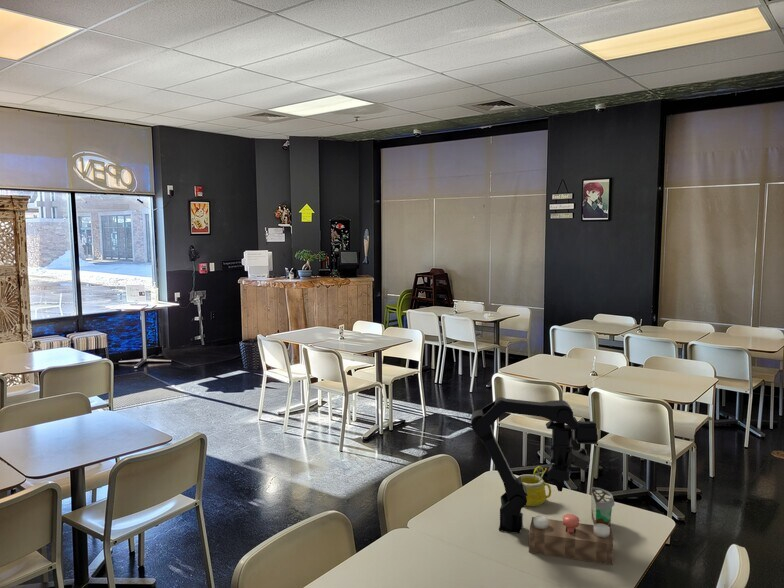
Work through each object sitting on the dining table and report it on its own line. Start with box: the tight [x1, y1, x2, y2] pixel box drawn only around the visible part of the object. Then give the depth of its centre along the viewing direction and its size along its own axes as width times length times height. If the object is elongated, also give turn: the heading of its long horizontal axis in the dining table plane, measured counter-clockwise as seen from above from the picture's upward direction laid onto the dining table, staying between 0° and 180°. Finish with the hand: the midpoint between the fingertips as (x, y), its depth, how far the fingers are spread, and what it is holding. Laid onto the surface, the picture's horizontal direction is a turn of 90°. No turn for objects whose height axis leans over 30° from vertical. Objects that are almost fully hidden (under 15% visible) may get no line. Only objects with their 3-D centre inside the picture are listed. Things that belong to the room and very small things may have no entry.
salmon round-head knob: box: [562, 513, 580, 533], centre depth 171 cm, size 4×4×8 cm
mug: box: [516, 465, 552, 507], centre depth 203 cm, size 13×11×12 cm
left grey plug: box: [533, 515, 550, 529], centre depth 174 cm, size 4×4×8 cm
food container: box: [590, 486, 615, 527], centre depth 185 cm, size 12×6×10 cm, turn 168°
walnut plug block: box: [528, 516, 614, 566], centre depth 171 cm, size 23×10×6 cm, turn 71°
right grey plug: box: [593, 523, 611, 538], centre depth 168 cm, size 4×4×8 cm
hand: (560, 490), depth 182 cm, fingers closed
